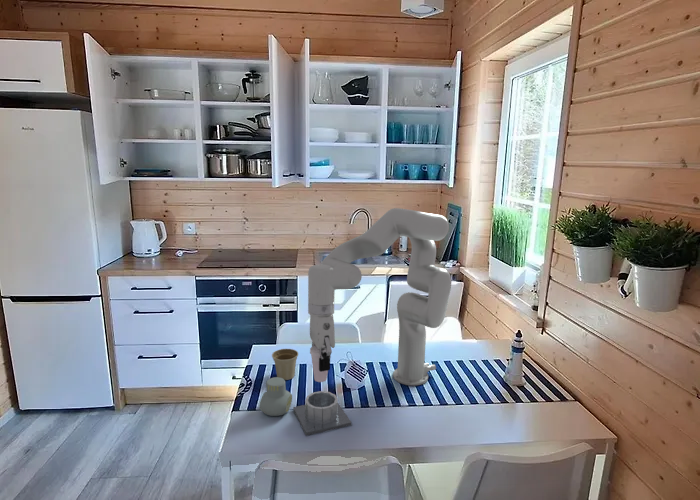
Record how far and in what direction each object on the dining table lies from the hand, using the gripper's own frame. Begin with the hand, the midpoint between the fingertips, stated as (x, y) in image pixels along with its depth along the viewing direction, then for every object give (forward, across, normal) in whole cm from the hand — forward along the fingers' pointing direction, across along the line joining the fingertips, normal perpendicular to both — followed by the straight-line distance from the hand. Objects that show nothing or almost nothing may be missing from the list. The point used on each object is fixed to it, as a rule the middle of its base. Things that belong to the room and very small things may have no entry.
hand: (320, 364), depth 129 cm
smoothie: (+5, 0, 0) cm, 5 cm away
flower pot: (+18, +29, +4) cm, 34 cm away
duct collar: (+17, 0, 0) cm, 17 cm away
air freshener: (+18, +9, +12) cm, 23 cm away
